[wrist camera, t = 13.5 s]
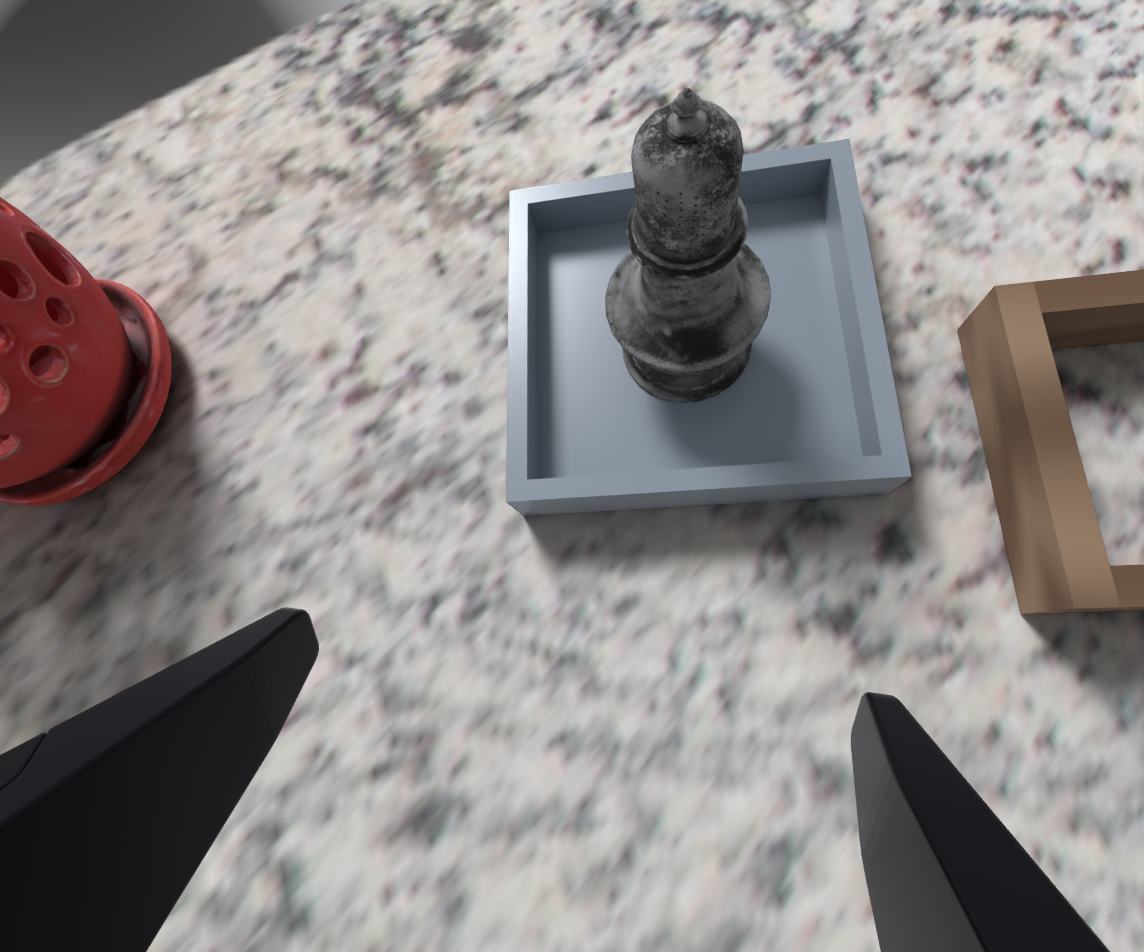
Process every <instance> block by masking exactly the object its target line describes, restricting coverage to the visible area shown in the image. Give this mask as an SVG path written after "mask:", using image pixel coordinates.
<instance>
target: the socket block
mask: <svg viewBox="0 0 1144 952" xmlns="http://www.w3.org/2000/svg"><path fill="white" fill-rule="evenodd" d="M958 335H959V339H960V344H961V348H962V353H963V357H964V362H965V366H966V371H967V375H968V380H969V384H970V389H971V393H972V398H973V402H974V407H975V411H976V416H977V420H978V425H979V429H980V434H981V438H982V443H983V447H984V452H985V456H986V461H987V465H988V470H989V474H990V479H991V483H992V488H993V492H994V497H995V501H996V506H997V510H998V515H999V519H1000V524H1001V528H1002V533H1003V537H1004V542H1005V546H1006V551H1007V555H1008V560H1009V564H1010V569H1011V573H1012V578H1013V582H1014V587H1015V591H1016V596H1017V600H1018V605H1019V609H1020V613H1021V614H1040V613H1078V612H1115V611H1144V565H1122V566H1109V562H1108V558H1107V555H1106V551H1105V547H1104V543H1103V540H1102V536H1101V532H1100V528H1099V525H1098V521H1097V517H1096V514H1095V510H1094V506H1093V502H1092V499H1091V495H1090V491H1089V488H1088V484H1087V480H1086V476H1085V473H1084V469H1083V465H1082V462H1081V458H1080V454H1079V450H1078V447H1077V443H1076V439H1075V436H1074V432H1073V428H1072V424H1071V421H1070V417H1069V413H1068V410H1067V406H1066V402H1065V398H1064V395H1063V391H1062V387H1061V383H1060V380H1059V376H1058V372H1057V369H1056V365H1055V361H1054V357H1053V354H1052V350H1051V349H1059V348H1070V347H1081V346H1092V345H1103V344H1113V343H1124V342H1135V341H1144V270H1136V271H1127V272H1118V273H1109V274H1100V275H1091V276H1082V277H1073V278H1064V279H1055V280H1045V281H1036V282H1027V283H1018V284H1009V285H1000V286H994V287H993V288H992V290H991V291H990V292H989V293H988V294H987V296H986V297H985V298H984V299H983V300H982V301H981V303H980V304H979V305H978V306H977V307H976V308H975V310H974V311H973V312H972V313H971V314H970V315H969V317H968V318H967V319H966V320H965V321H964V323H963V324H962V325H961V326H960V327H959V328H958Z"/></svg>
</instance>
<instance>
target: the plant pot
mask: <svg viewBox="0 0 1144 952" xmlns="http://www.w3.org/2000/svg"><path fill="white" fill-rule="evenodd" d="M171 367H172V363H171V351H170V345H169V341H168V338H167V334H166V331H165V328H164V326H163V324H162V322H161V320H160V318H159V317H158V315H157V314H156V312H155V311H154V310H153V308H152V307H151V306H150V305H149V304H148V303H147V302H146V301H145V300H144V299H143V298H142V297H141V296H140V295H139V294H137V293H136V292H135V291H133V290H131V289H130V288H128V287H126V286H124V285H122V284H119V283H116V282H113V281H109V280H104V279H94V278H93V277H92V276H91V275H90V273H89V272H88V271H87V270H86V269H85V268H84V266H83V265H82V264H81V263H80V262H79V261H78V260H77V259H76V258H75V257H74V256H73V255H72V254H71V253H70V252H69V251H68V250H66V249H65V248H64V247H63V246H62V245H61V244H59V243H58V242H57V241H56V240H55V239H53V238H52V237H51V236H50V235H49V234H47V233H46V232H45V231H44V230H43V229H41V228H40V227H39V226H38V225H37V224H36V223H34V222H33V221H32V220H31V219H30V218H29V217H27V216H26V215H25V214H24V213H23V212H21V211H20V210H18V209H17V208H15V207H14V206H12V205H11V204H9V203H8V202H7V201H5V200H4V199H2V198H1V197H0V501H3V502H6V503H11V504H16V505H27V506H38V505H49V504H55V503H60V502H63V501H67V500H70V499H73V498H75V497H78V496H80V495H82V494H85V493H87V492H89V491H91V490H92V489H94V488H96V487H98V486H99V485H101V484H102V483H104V482H106V481H107V480H109V479H110V478H111V477H112V476H114V475H115V474H116V473H117V472H119V471H120V470H121V469H122V468H123V467H124V466H125V465H126V464H127V463H128V462H129V461H130V460H131V459H132V458H133V457H134V456H135V455H136V454H137V453H138V452H139V450H140V449H141V448H142V447H143V445H144V444H145V443H146V441H147V440H148V438H149V437H150V435H151V433H152V432H153V430H154V429H155V427H156V425H157V423H158V421H159V419H160V416H161V414H162V412H163V409H164V406H165V403H166V400H167V396H168V393H169V388H170V381H171Z"/></svg>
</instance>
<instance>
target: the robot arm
mask: <svg viewBox="0 0 1144 952" xmlns="http://www.w3.org/2000/svg"><path fill="white" fill-rule="evenodd" d="M318 651H319V643H318V640H317V637H316V634H315V630H314V627H313V624H312V621H311V618H310V616H309V614H308V613H307V612H306V611H305V610H302V609H295V608H288V607H286V608H281V609H279V610H277V611H275V612H273V613H271V614H269V615H267V616H265V617H263V618H261V619H259V620H257V621H256V622H254V623H252V624H250V625H248V626H246V627H244V628H242V629H240V630H238V631H237V632H235V633H233V634H231V635H229V636H227V637H225V638H223V639H221V640H219V641H217V642H216V643H214V644H212V645H210V646H208V647H206V648H204V649H202V650H200V651H198V652H196V653H195V654H193V655H191V656H189V657H187V658H185V659H183V660H181V661H179V662H177V663H175V664H174V665H172V666H170V667H168V668H166V669H164V670H162V671H160V672H158V673H156V674H154V675H153V676H151V677H149V678H147V679H145V680H143V681H141V682H139V683H137V684H135V685H133V686H132V687H130V688H128V689H126V690H124V691H122V692H120V693H118V694H116V695H114V696H112V697H111V698H109V699H107V700H105V701H103V702H101V703H99V704H97V705H95V706H93V707H91V708H90V709H88V710H86V711H84V712H82V713H80V714H78V715H76V716H74V717H72V718H70V719H69V720H67V721H65V722H63V723H61V724H59V725H57V726H55V727H53V728H51V729H50V730H49V731H48V732H47V733H42V734H40V735H38V736H36V737H34V738H32V739H30V740H28V741H26V742H25V743H23V744H21V745H19V746H17V747H15V748H13V749H11V750H9V751H7V752H5V753H3V754H1V755H0V952H146V951H147V950H148V948H149V946H150V945H151V943H152V942H153V940H154V938H155V937H156V935H157V933H158V932H159V930H160V929H161V927H162V925H163V924H164V922H165V920H166V919H167V917H168V916H169V914H170V912H171V911H172V909H173V907H174V906H175V904H176V903H177V901H178V899H179V898H180V896H181V894H182V893H183V891H184V889H185V888H186V886H187V885H188V883H189V881H190V880H191V878H192V876H193V875H194V873H195V872H196V870H197V868H198V867H199V865H200V863H201V862H202V860H203V859H204V857H205V855H206V854H207V852H208V850H209V849H210V847H211V846H212V844H213V842H214V841H215V839H216V837H217V836H218V834H219V832H220V831H221V829H222V828H223V826H224V824H225V823H226V821H227V819H228V818H229V816H230V815H231V813H232V811H233V810H234V808H235V806H236V805H237V803H238V802H239V800H240V798H241V797H242V795H243V793H244V792H245V790H246V789H247V787H248V785H249V784H250V782H251V780H252V779H253V777H254V775H255V774H256V772H257V771H258V769H259V767H260V766H261V764H262V762H263V761H264V759H265V758H266V756H267V754H268V753H269V751H270V749H271V748H272V746H273V744H274V742H275V741H276V739H277V737H278V735H279V733H280V731H281V730H282V728H283V726H284V724H285V722H286V720H287V718H288V716H289V714H290V712H291V710H292V708H293V705H294V703H295V701H296V699H297V697H298V695H299V693H300V691H301V689H302V687H303V685H304V683H305V681H306V679H307V677H308V675H309V673H310V671H311V669H312V667H313V665H314V663H315V661H316V658H317V656H318ZM851 751H852V762H853V772H854V783H855V794H856V805H857V815H858V826H859V837H860V846H861V855H862V860H863V866H864V872H865V877H866V882H867V886H868V891H869V896H870V901H871V906H872V911H873V916H874V920H875V925H876V930H877V935H878V940H879V945H880V949H881V952H1110V951H1109V950H1108V949H1107V947H1106V946H1105V945H1104V944H1103V943H1102V941H1101V940H1100V939H1099V938H1098V937H1097V935H1096V934H1095V933H1094V932H1093V931H1092V929H1091V928H1090V927H1089V926H1088V925H1087V923H1086V922H1085V921H1084V920H1083V919H1082V918H1081V916H1080V915H1079V914H1078V913H1077V912H1076V910H1075V909H1074V908H1073V907H1072V906H1071V904H1070V903H1069V902H1068V901H1067V900H1066V898H1065V897H1064V896H1063V895H1062V894H1061V892H1060V891H1059V890H1058V889H1057V888H1056V886H1055V885H1054V884H1053V883H1052V882H1051V881H1050V879H1049V878H1048V877H1047V876H1046V875H1045V873H1044V872H1043V871H1042V870H1041V869H1040V867H1039V866H1038V865H1037V864H1036V863H1035V861H1034V860H1033V859H1032V858H1031V857H1030V855H1029V854H1028V853H1027V852H1026V851H1025V850H1024V848H1023V847H1022V846H1021V845H1020V844H1019V842H1018V841H1017V840H1016V839H1015V838H1014V836H1013V835H1012V834H1011V833H1010V832H1009V830H1008V829H1007V828H1006V827H1005V826H1004V824H1003V823H1002V822H1001V821H1000V820H999V819H998V817H997V816H996V815H995V814H994V813H993V811H992V810H991V809H990V808H989V807H988V805H987V804H986V803H985V802H984V801H983V799H982V798H981V797H980V796H979V795H978V793H977V792H976V791H975V790H974V789H973V787H972V786H971V785H970V784H969V783H968V782H967V780H966V779H965V778H964V777H963V776H962V774H961V773H960V772H959V771H958V770H957V768H956V767H955V766H954V765H953V764H952V762H951V761H950V760H949V759H948V758H947V756H946V755H945V754H944V753H943V752H942V751H941V749H940V748H939V747H938V746H937V745H936V743H935V742H934V741H933V740H932V739H931V737H930V736H929V735H928V734H927V733H926V731H925V730H924V729H923V728H922V727H921V725H920V724H919V723H918V722H917V721H916V720H915V718H914V717H913V716H912V715H911V714H910V712H909V711H908V710H907V709H906V708H905V706H904V705H903V704H902V703H901V702H900V701H899V700H898V699H897V698H896V697H894V696H891V695H885V694H878V693H871V692H867V693H865V694H864V695H863V696H862V698H861V700H860V704H859V707H858V710H857V714H856V717H855V721H854V724H853V727H852V732H851Z"/></svg>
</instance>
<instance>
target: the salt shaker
mask: <svg viewBox="0 0 1144 952" xmlns="http://www.w3.org/2000/svg"><path fill="white" fill-rule="evenodd" d="M743 153H744V150H743V143H742V137H741V131H740V129H739V127H738V125H737V123H736V121H735V120H734V119H733V118H732V117H731V116H730V115H729V114H728V113H727V112H726V111H725V110H724V109H723V108H721V107H719V106H718V105H716V104H714V103H712V102H709V101H705V100H702V99H700V97H699V96H698V95H696V94H695V93H694V92H693V91H692V90H690V89H689V88H684V90H683V91H681V92H680V93H679V94H678V96H677V97H676V98H675V99H674V100H673V102H671V103H668V104H666V105H664V106H662V107H661V108H659V109H657V110H656V111H654V112H653V114H652V115H651V116H650V117H649V118H648V119H647V120H646V121H645V122H644V123H643V124H642V125H641V127H640V129H639V131H638V132H637V134H636V136H635V140H634V144H633V149H632V155H631V159H632V170H633V179H634V188H635V197H636V202H635V204H634V206H633V208H632V210H631V211H630V213H629V217H628V221H627V226H626V229H627V241H628V244H629V246H630V249H631V250H630V251H629V252H628V253H627V254H626V255H625V256H624V258H623V259H622V260H621V261H620V262H619V263H618V265H617V267H616V268H615V270H614V272H613V274H612V275H611V277H610V279H609V283H608V287H607V291H606V295H605V308H606V318H607V321H608V323H609V326H610V329H611V332H612V334H613V336H614V337H615V338H616V340H617V341H618V342H619V344H620V345H621V346H622V349H623V359H624V362H625V364H626V367H627V370H628V372H629V374H630V375H631V376H632V378H633V379H634V380H635V382H636V383H637V384H638V385H639V386H640V387H641V388H643V389H644V390H645V391H647V392H648V393H649V394H651V395H653V396H656V397H658V398H661V399H663V400H665V401H672V402H679V403H687V402H698V401H702V400H705V399H708V398H711V397H714V396H716V395H718V394H719V393H721V392H723V391H724V390H726V389H727V388H729V387H730V386H731V385H732V384H733V383H734V382H735V381H736V380H737V379H738V378H739V376H740V375H741V374H742V373H743V371H744V369H745V367H746V365H747V363H748V361H749V357H750V352H751V346H752V341H753V340H754V339H755V338H756V337H757V336H758V335H759V333H760V331H761V329H762V327H763V325H764V323H765V321H766V319H767V317H768V312H769V306H770V300H771V290H770V283H769V276H768V274H767V272H766V270H765V268H764V266H763V264H762V262H761V260H760V258H759V257H758V256H757V255H756V254H755V253H754V252H753V251H752V250H751V249H750V248H749V246H748V245H746V244H745V243H744V242H745V240H746V236H747V230H748V224H749V223H748V217H747V210H746V208H745V206H744V204H743V202H742V200H741V198H740V197H739V196H738V195H739V187H740V178H741V170H742V161H743Z"/></svg>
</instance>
